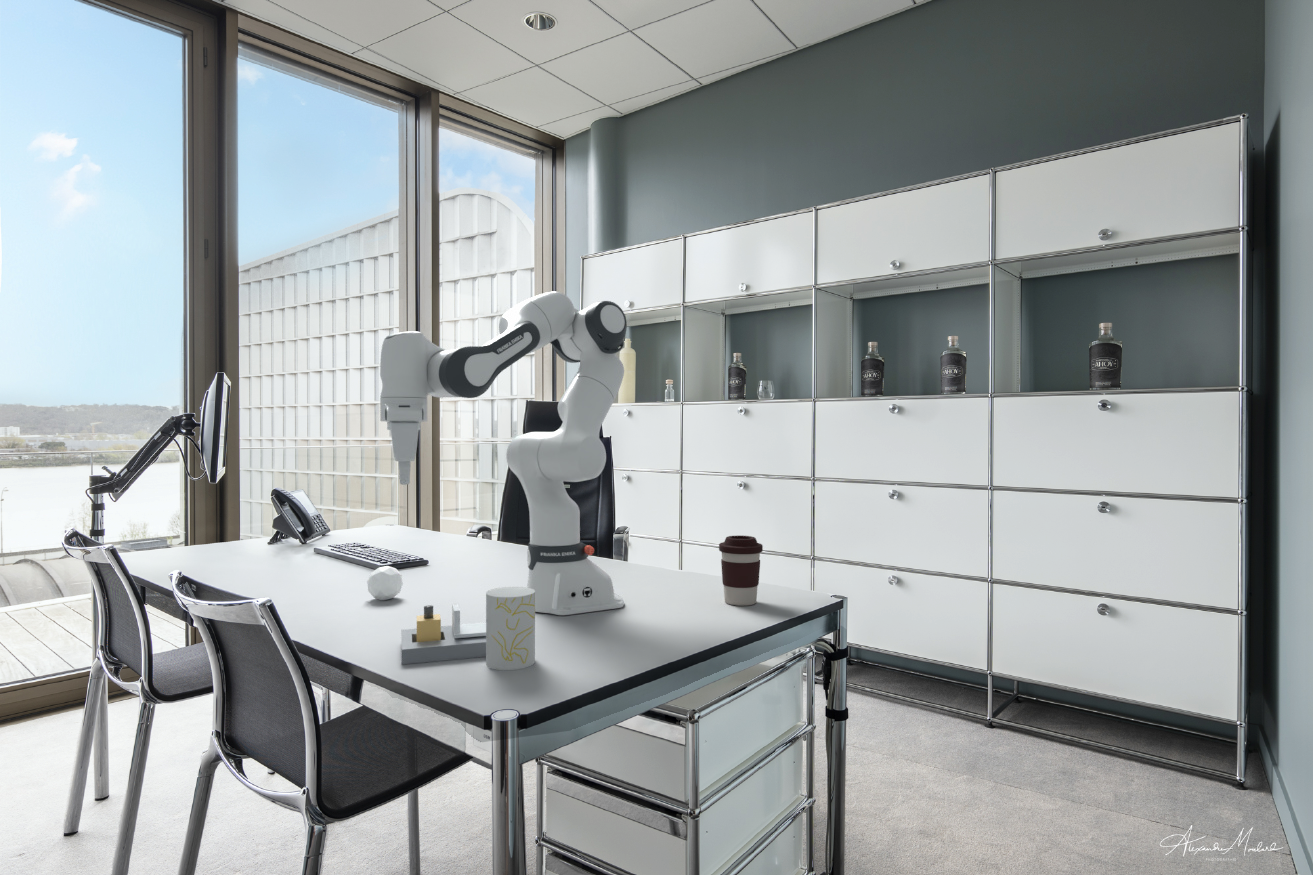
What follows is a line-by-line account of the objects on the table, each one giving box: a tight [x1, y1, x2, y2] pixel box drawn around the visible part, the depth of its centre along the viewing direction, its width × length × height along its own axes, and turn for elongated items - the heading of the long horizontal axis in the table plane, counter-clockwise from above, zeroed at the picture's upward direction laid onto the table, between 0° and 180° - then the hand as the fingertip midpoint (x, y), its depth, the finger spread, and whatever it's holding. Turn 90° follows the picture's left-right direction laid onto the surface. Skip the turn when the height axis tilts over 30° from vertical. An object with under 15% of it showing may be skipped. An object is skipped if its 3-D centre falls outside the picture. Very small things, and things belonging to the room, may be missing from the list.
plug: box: [416, 604, 442, 642], centre depth 132 cm, size 4×4×8 cm
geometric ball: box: [366, 565, 404, 601], centre depth 171 cm, size 8×8×8 cm
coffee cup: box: [718, 535, 764, 607], centre depth 169 cm, size 10×10×15 cm
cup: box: [485, 586, 536, 671], centre depth 125 cm, size 8×8×12 cm
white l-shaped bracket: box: [451, 603, 486, 638], centre depth 134 cm, size 7×6×5 cm
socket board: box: [400, 625, 486, 665], centre depth 133 cm, size 13×15×2 cm
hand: (404, 482), depth 147 cm, fingers open, 8 cm apart
